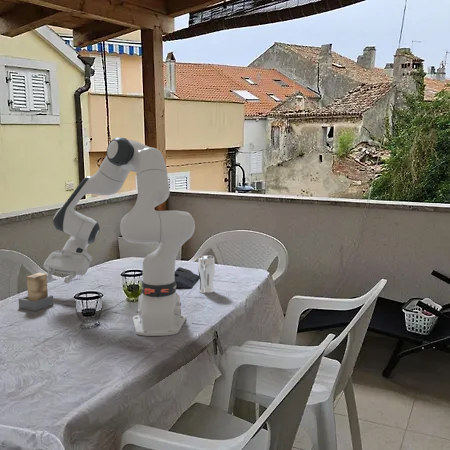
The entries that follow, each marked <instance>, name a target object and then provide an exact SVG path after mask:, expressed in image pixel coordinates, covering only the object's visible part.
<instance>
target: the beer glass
mask: <svg viewBox="0 0 450 450" xmlns="http://www.w3.org/2000/svg"><path fill="white" fill-rule="evenodd" d="M215 265H216V264H215V256H214V255H212V254H211V255H210V254H204V255H199V256H198V265H197V268H198V269H197V271H198V276H199V278H200V279H199V293H201V294H212V293H214V290H215V289H214V285H213V284H214V283H213V282H214V277H215V267H216V266H215Z"/></svg>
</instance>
